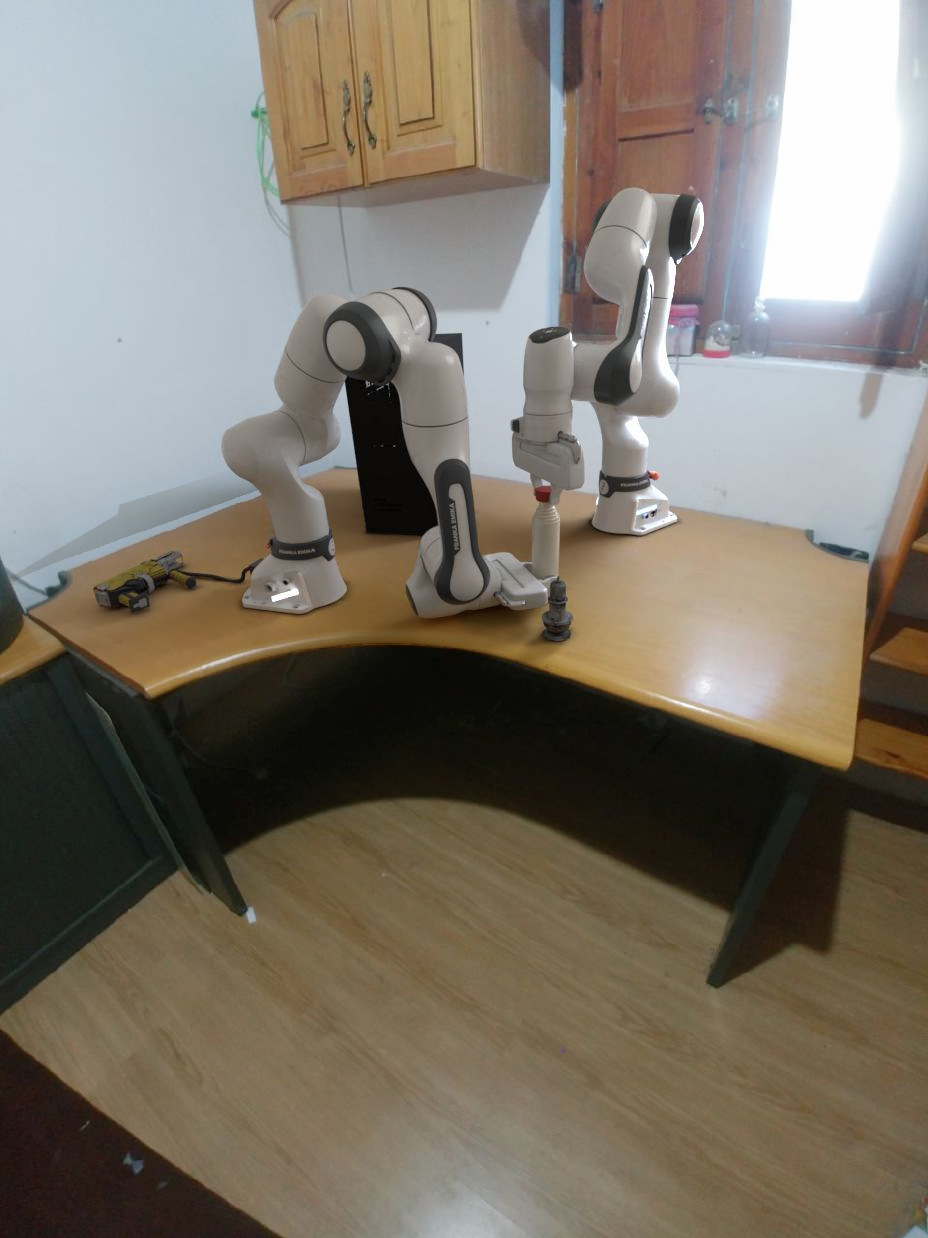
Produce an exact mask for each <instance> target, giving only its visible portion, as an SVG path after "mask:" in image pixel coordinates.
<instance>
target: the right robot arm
mask: <svg viewBox="0 0 928 1238" xmlns="http://www.w3.org/2000/svg"><path fill="white" fill-rule="evenodd" d="M703 227H704V206H703V204H702V201H701V199H700V198H699V197H698V196H696V195H692V194H687V193H680V194H673V193H656V192H655V193H649V192H648V191H647V190H645V189H644V188H640V187H627V188H625V189H624V188H623V189H622V190H620V191H619V192H618V193H617V194H615V195H614V196H613V197H612V198H610V199H607V200H605V201H603V202H602V203H601V204H600V205H599V207H598V208H597V209H596V210H595V213H594V216H593V219H592V224H591V239H590V241H589V244H588V246H587V249H586V252H585V256H584V261H583V272H584V273H583V274H584V277H585V281H586V282H587V284H588V285H589V287H590V289H591V290H592V291H593V292H594V293H595V294H596V295H597V296H599V297H600V298H602V299H603V300H605V301H608V302H611V303H613V304H615V305H618V306H619V307H618V312H617V320H616V325H615V337H616V340H615V341H613V342H612V343H607V344H583V343H577V342H575V341H574V340H573V335H572V331H571V329H569V328H567V327H564V326H548V327H544V328H540V329H536V330H534V331H533V332H531V333H530V334H529V335H528V337H527V339H526V344H525V349H524V355H523V370H522V371H523V372H522V373H523V374H522V387H523V390H524V397H525V399H524V404H523V407H522V408H523V409H522V414H523V415H522V416H520V417H516V418H513V419H510V424H509V425H510V430H511V432H513V433H512V435H511V436H512V437H511V455H512V461H513V464H514V466H515V467H516V468H518V469H520V470H523V471H524V472H527V473H529V479H530V481H531V485H532V488H533V496H534V497H536V488H538V487H541V486H544V484H543V481H546V482H547V483H549V486H550V487H551V488H552V490H551V494H550V495H548V500H547V502H548V503H549V504H551V505H554V506H557V505H559V504H560V497H561V494H562V492H563V490H564V491H567V492H568V491H569V492H570V491H574V490H579V489H581V488H583V486H584V484H585V481H586V479H585V477H586V474H585V473H586V472H585V455H584V450H583V448H582V445H581V444H580V442H579V440H578V437H577V436H575V435H573V413H574V412H573V411H574V410H573V409H574V407H573V402H572V401H576V402H586V403H587V402H588V403H589V404H590V405H591V407H592V408H593V411H594V413H595V414H596V418H597V420H598V421H597V422H598V425H599V428H600V434H601V441H602V442H601V443H602V444H601V445H602V447H601V468H600V470H599V474H598V492H599V493H598V495H597V498H596V502H595V505H596V507H595V511H594V514H593V517H592V520H591V525H592V526H593V527H594V528H595V529H597V530H599V531H601V532H605V533H611V534H623V535H625V534H626V535H632V536H633V535H634V536H645V535H646V534H650V533H652V532H654V531H657V530H660V529H662V528H665V527H668V526H670V525H672V524H675V523H677V522H678V516H677V515H676V514H675V513H674V512H672V511H670V503H669V502H670V501H669V498H668V497H667V496H666V495H665V494H664V493H663V492H661V491H660V490H659V489H658V488H656V487H655V486H654V485H652V483H651V480H653V481H658V479H659V478H660V473H659V472H657V471H654V470H651V471H649V470H648V469H647V466H648V458H649V457H648V455H649V447H650V442H649V437H648V435H647V434H646V433H645V432H644V431H643V429H642V428H641V426H640V423H639V420H638V419H643V420H651V419H663V418H665V417H667V416H668V415H670V414H671V413H672V412H673V411H674V410H675V408H676V406H677V404H678V403H679V400H680V395H681V386H680V383H679V380H678V378H677V377H676V376H675V374H674V372H673V370H672V369H671V367H670V363H669V359H668V355H667V344H666V341H667V330H668V324H669V318H670V317H669V316H670V310H671V306H672V299H673V295H674V294H673V293H674V287H675V278H676V266H677V265H679V264H680V262H681V261H682V259H683V258H685V257H687V256H689V254H690V253H691V252H692V251H693V250H694V249H695V248H696V246H697V244H698V241H699V239H700V236H701V234H702V231H703Z"/></svg>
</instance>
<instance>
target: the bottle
mask: <svg viewBox="0 0 928 1238" xmlns="http://www.w3.org/2000/svg"><path fill="white" fill-rule="evenodd" d="M560 537H561V516H560V514H559V511H558V510H557V508H556V505H551V504H549V503H543V502H538V505H537V507H536V508H535V511H534V513H533V514H532V518H531V563H532V572H531V574H532V575H533V576H534V577H535V578H536V579H537V580H540V579H542V581H543V580H545V579H547V576H550V575H555V576H556V577H558V576H559V575H560V574H559V573H560V543H561V542H560V541H561V538H560ZM559 577H560V576H559ZM547 590H548V597H549V596H550V587H549V588H548V589H547ZM548 602H549V601H548ZM548 602H547V603H548Z"/></svg>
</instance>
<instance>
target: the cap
mask: <svg viewBox="0 0 928 1238" xmlns="http://www.w3.org/2000/svg"><path fill="white" fill-rule="evenodd" d="M551 490H552V488H551V487H550V485H543V486H541V487H538V488H536V496H535V500H536V501H537V502H538V503H539V502H543V503H548V502H547V500H548V495H550V494H551Z"/></svg>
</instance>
